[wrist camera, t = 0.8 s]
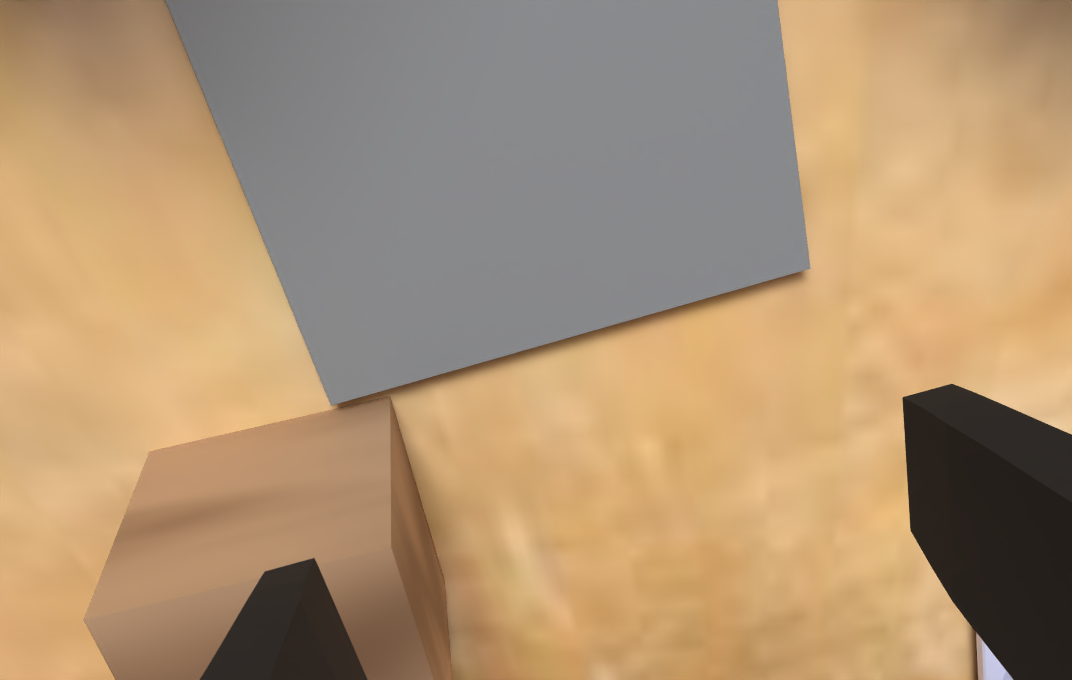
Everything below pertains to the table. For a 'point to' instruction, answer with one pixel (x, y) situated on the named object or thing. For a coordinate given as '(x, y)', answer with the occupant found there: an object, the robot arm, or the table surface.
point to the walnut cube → (275, 546)
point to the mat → (499, 166)
